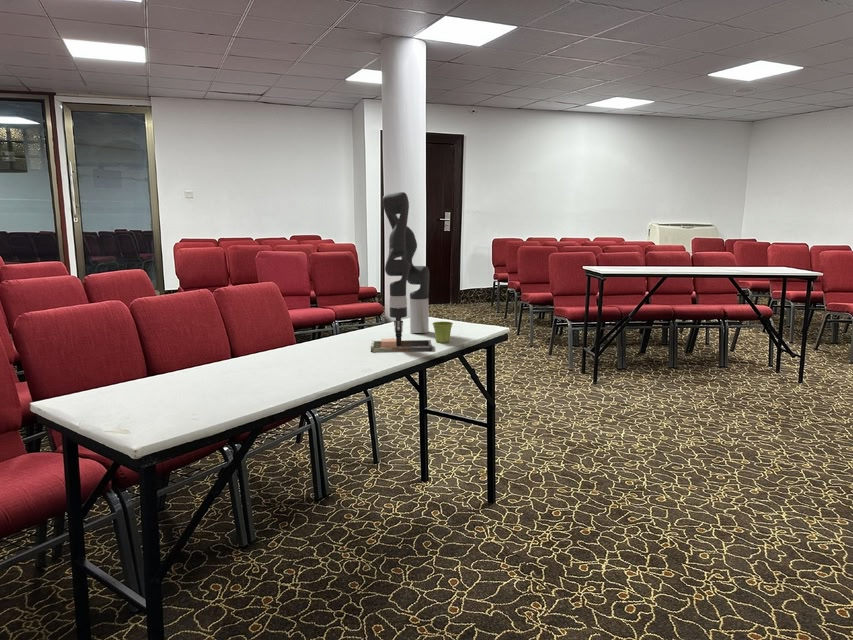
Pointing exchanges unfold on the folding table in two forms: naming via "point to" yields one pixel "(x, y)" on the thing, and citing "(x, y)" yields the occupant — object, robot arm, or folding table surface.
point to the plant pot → (442, 331)
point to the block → (388, 343)
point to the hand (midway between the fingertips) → (398, 345)
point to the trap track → (411, 343)
